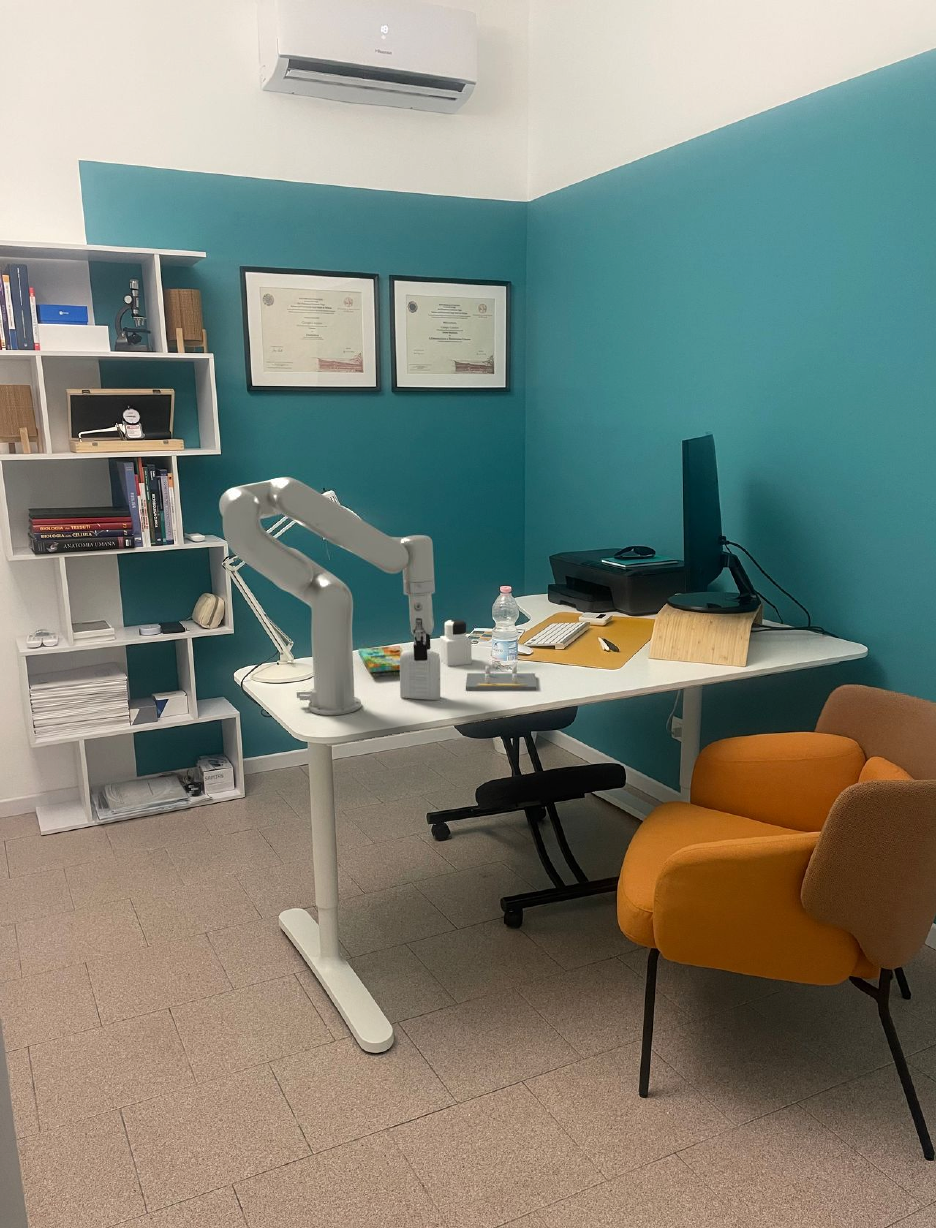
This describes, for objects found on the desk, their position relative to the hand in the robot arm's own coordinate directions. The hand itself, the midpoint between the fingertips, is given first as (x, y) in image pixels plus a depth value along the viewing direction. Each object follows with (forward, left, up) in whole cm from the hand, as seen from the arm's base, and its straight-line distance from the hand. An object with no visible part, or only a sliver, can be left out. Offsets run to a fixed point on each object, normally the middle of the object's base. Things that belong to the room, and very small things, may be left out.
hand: (422, 654), depth 232 cm
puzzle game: (-13, +26, -11) cm, 31 cm away
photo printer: (-1, 0, -11) cm, 11 cm away
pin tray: (+19, +12, -11) cm, 25 cm away
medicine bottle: (+7, +32, -11) cm, 35 cm away
